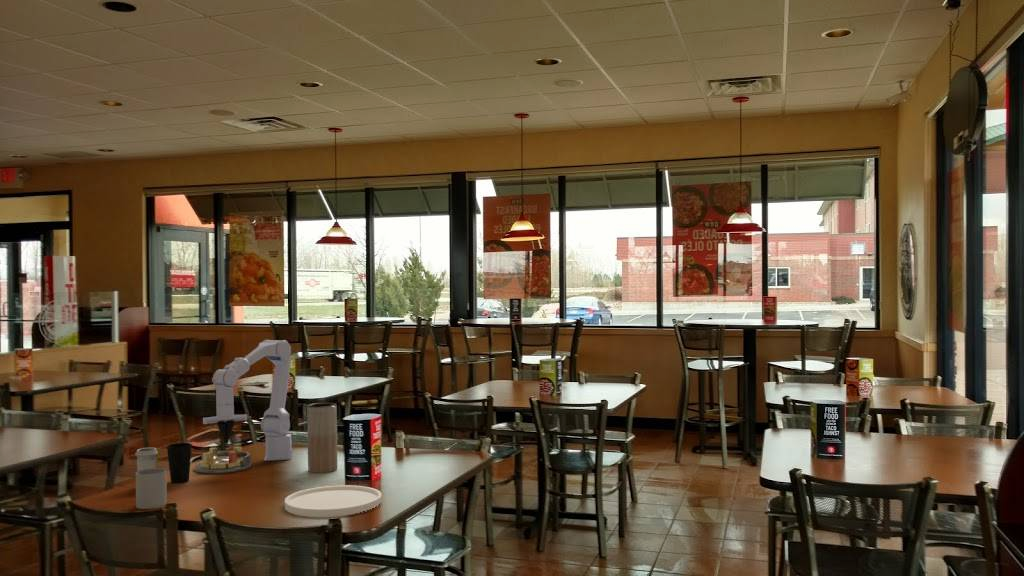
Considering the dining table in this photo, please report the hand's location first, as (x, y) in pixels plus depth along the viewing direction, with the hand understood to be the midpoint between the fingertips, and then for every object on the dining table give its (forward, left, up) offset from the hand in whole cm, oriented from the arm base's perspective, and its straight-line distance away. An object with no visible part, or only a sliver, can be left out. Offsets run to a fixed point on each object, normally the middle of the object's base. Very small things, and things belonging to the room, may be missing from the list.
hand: (225, 442), depth 292 cm
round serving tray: (+2, -6, -10) cm, 12 cm away
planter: (-33, +6, -10) cm, 35 cm away
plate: (-38, +53, -11) cm, 66 cm away
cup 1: (+22, +17, -10) cm, 30 cm away
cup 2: (+15, +42, -10) cm, 46 cm away
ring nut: (+2, -6, -9) cm, 11 cm away
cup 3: (+13, +12, -10) cm, 20 cm away
